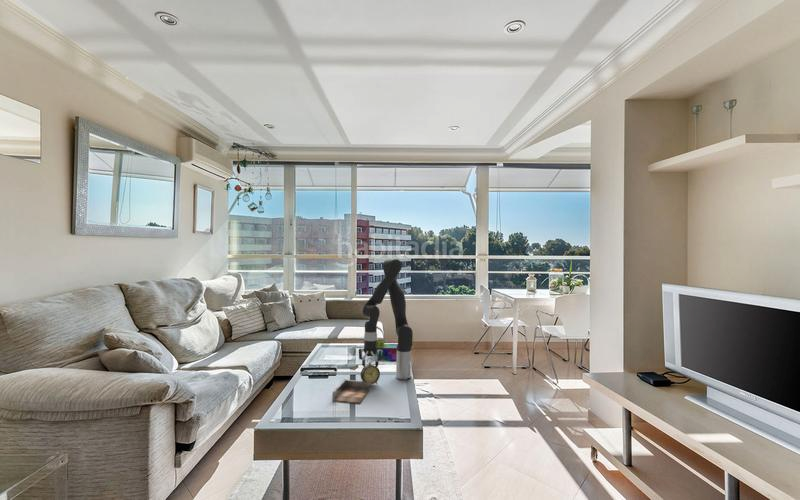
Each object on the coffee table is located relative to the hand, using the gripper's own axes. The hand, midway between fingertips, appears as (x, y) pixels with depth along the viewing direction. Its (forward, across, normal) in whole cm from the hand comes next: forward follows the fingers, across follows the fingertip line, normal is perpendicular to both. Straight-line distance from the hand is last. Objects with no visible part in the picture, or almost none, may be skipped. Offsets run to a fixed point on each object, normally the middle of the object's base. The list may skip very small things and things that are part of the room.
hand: (370, 366), depth 226 cm
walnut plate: (+11, +6, +18) cm, 21 cm away
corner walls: (+11, +6, +18) cm, 21 cm away
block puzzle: (+11, -1, -57) cm, 58 cm away
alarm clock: (+11, 0, 0) cm, 11 cm away
